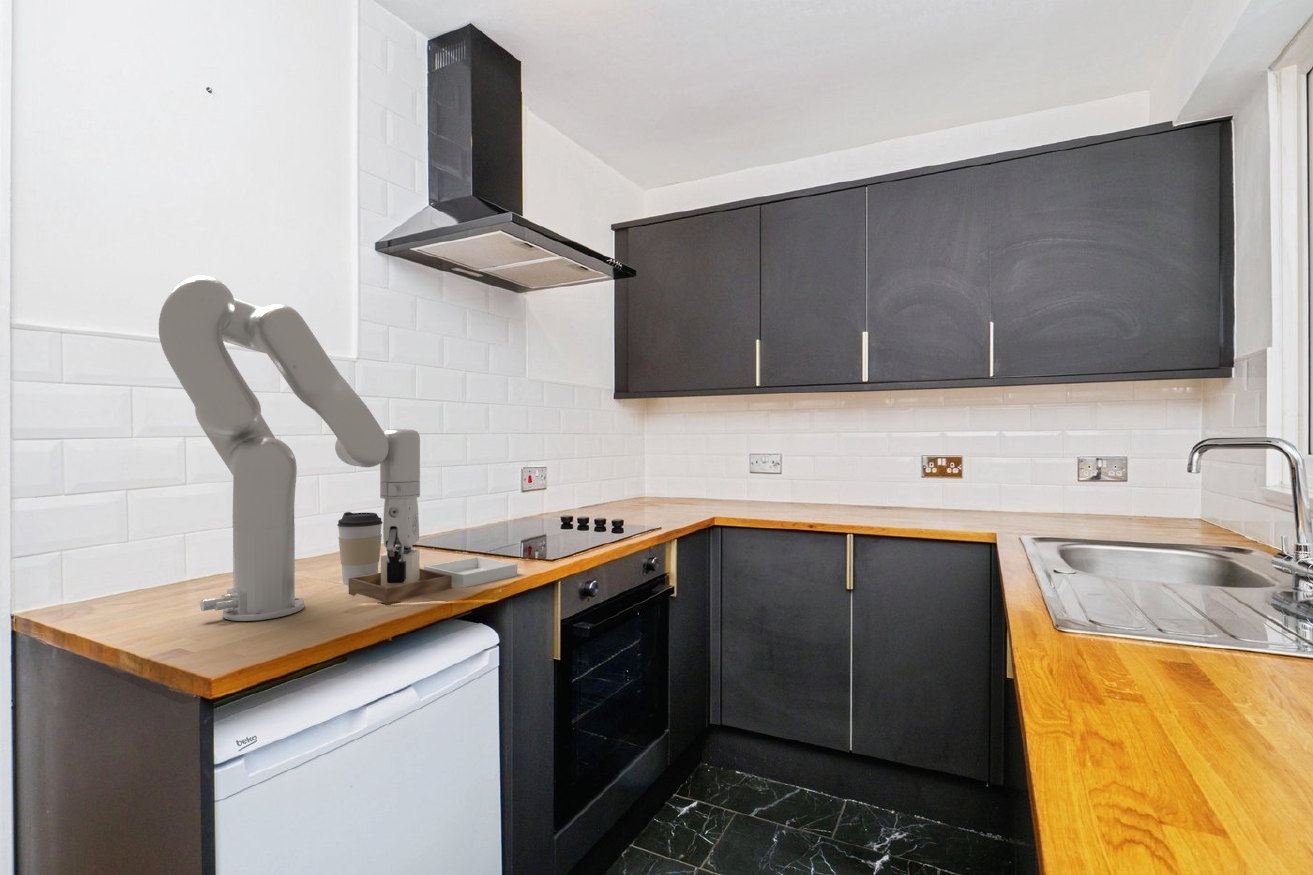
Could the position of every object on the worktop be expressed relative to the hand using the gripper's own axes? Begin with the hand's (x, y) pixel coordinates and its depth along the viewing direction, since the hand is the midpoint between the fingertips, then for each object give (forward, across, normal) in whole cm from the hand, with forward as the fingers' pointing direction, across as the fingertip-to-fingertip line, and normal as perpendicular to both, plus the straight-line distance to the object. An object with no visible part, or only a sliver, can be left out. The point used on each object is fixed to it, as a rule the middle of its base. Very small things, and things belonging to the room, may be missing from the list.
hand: (400, 577), depth 131 cm
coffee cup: (+3, +11, +11) cm, 16 cm away
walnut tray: (+3, 0, 0) cm, 3 cm away
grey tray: (+3, +10, -12) cm, 16 cm away
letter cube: (+1, 0, 0) cm, 1 cm away
